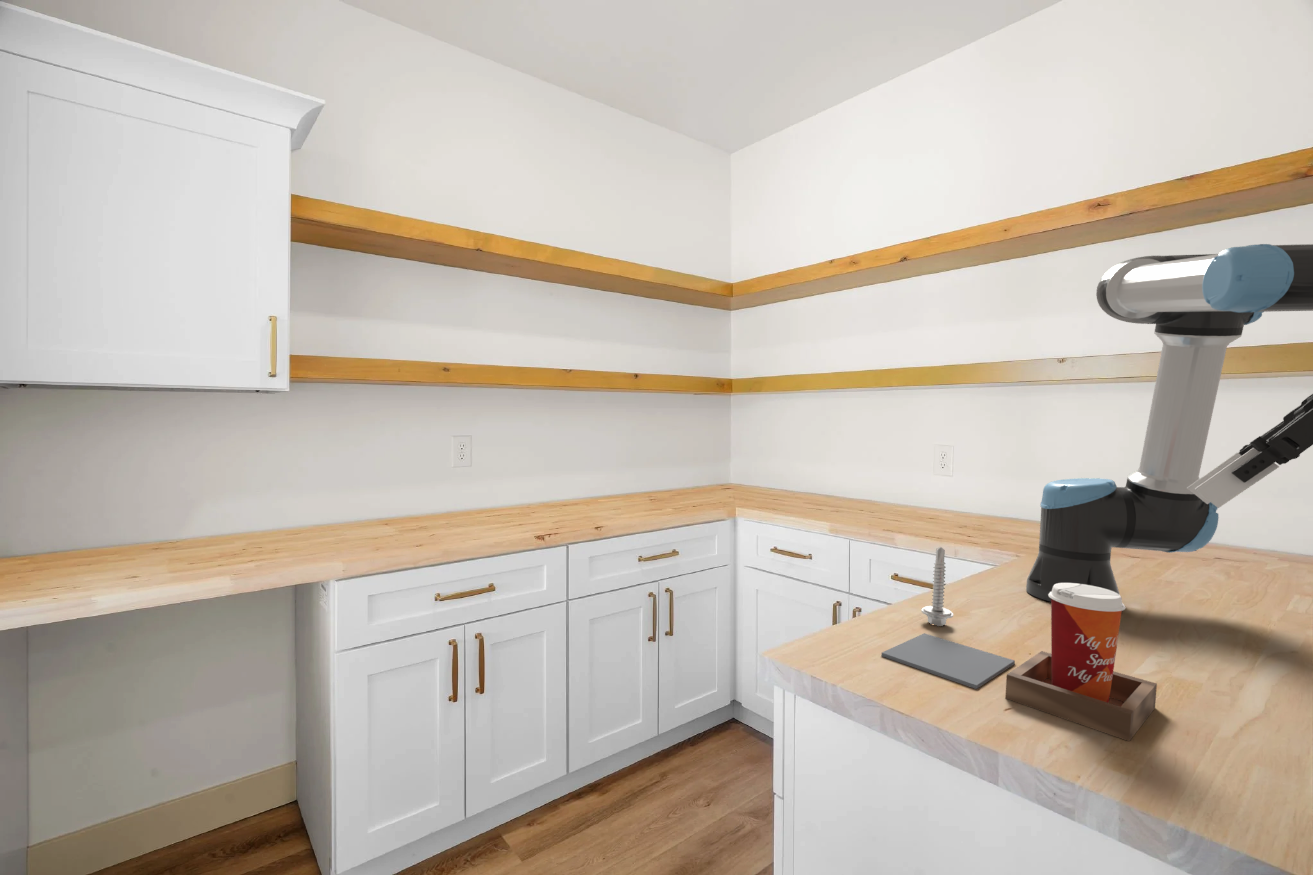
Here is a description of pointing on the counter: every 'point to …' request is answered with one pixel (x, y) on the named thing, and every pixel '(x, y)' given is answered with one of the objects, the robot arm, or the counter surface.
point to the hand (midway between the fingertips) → (1200, 497)
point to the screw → (938, 593)
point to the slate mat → (949, 660)
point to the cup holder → (1083, 698)
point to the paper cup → (1084, 638)
